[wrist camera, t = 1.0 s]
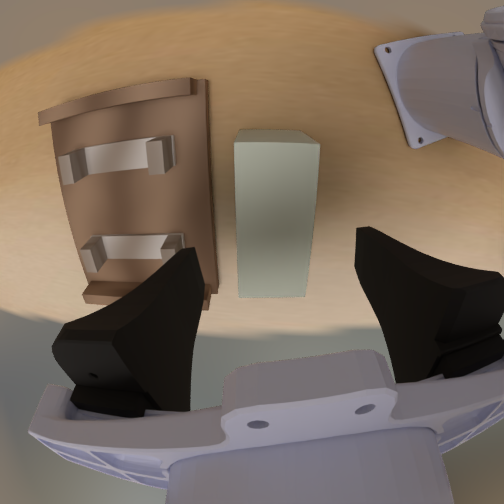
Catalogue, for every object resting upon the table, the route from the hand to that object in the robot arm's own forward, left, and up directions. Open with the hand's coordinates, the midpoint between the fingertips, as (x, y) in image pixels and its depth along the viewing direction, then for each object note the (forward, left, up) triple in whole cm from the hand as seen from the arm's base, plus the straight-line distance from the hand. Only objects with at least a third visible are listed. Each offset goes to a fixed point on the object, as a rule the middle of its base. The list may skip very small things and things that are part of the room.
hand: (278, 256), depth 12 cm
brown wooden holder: (+9, -5, -8) cm, 13 cm away
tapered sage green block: (0, 0, -9) cm, 9 cm away
